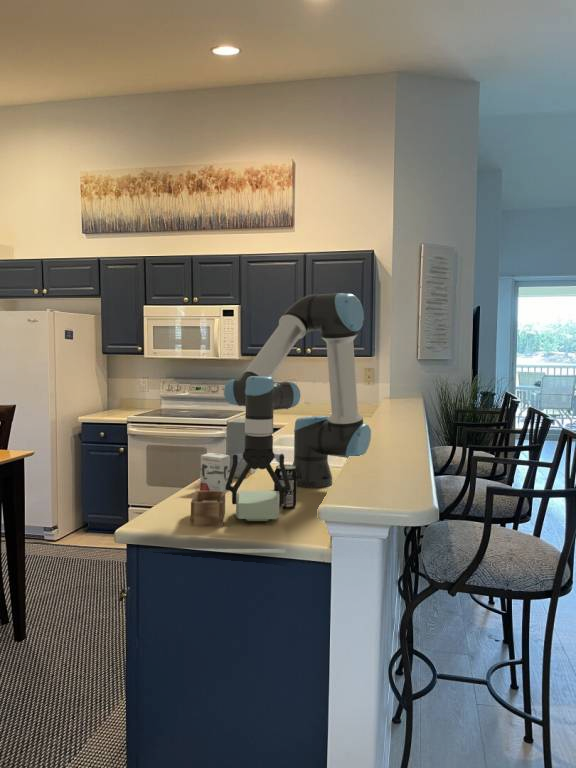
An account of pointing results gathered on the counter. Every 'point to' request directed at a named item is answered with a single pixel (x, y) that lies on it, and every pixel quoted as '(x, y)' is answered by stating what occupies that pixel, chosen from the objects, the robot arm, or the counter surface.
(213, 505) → the crate
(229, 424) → the hard drive box
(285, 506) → the beverage can
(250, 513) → the lid
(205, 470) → the ink box
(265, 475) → the counter surface
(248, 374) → the robot arm
